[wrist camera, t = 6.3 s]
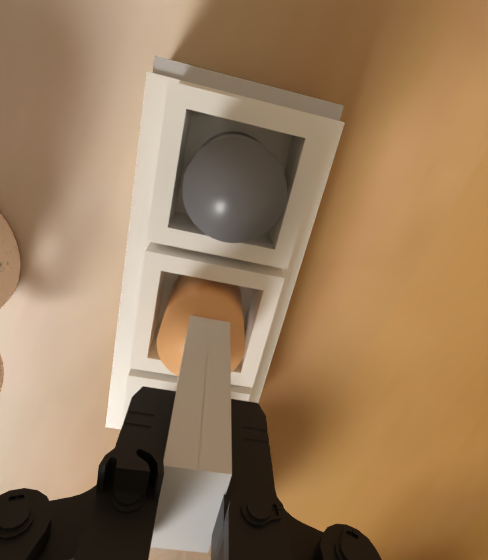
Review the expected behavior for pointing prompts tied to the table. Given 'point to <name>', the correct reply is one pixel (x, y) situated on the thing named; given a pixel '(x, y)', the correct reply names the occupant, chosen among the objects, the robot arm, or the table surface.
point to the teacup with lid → (7, 269)
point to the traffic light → (197, 245)
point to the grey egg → (234, 188)
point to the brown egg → (203, 303)
